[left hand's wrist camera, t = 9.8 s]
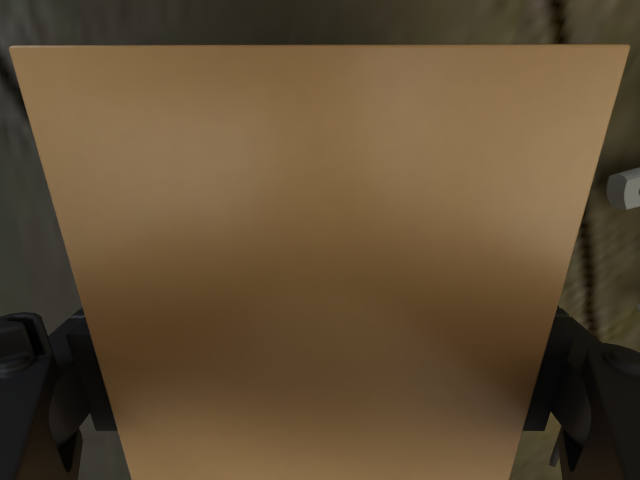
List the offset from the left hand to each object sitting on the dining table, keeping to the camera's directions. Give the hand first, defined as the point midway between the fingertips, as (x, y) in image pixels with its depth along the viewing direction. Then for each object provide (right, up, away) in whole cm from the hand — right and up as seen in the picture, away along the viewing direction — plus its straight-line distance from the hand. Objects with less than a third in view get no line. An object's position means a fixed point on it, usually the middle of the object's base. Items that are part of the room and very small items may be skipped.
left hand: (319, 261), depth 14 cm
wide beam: (0, -25, +10) cm, 27 cm away
